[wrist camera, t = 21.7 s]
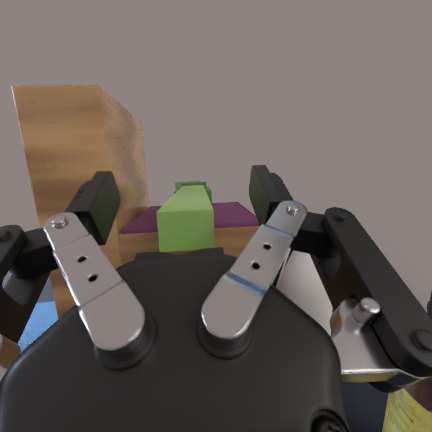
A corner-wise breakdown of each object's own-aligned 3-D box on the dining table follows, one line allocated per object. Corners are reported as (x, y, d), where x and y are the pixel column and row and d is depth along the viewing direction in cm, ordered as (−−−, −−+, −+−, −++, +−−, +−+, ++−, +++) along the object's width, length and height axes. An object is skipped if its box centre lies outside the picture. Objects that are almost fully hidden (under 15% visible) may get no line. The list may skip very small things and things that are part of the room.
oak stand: (260, 416, 24) (260, 82, 17) (82, 438, 22) (10, 85, 16) (238, 330, 36) (233, 119, 30) (123, 341, 35) (93, 123, 29)
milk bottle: (322, 345, 33) (331, 209, 29) (333, 395, 25) (346, 223, 22) (268, 335, 35) (269, 208, 31) (263, 379, 28) (264, 221, 24)
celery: (231, 247, 13) (230, 200, 13) (134, 254, 13) (128, 206, 12) (209, 196, 40) (208, 180, 39) (177, 198, 39) (175, 182, 39)
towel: (262, 321, 22) (262, 220, 20) (134, 333, 21) (120, 229, 19) (239, 267, 34) (237, 201, 32) (157, 273, 33) (150, 206, 31)
